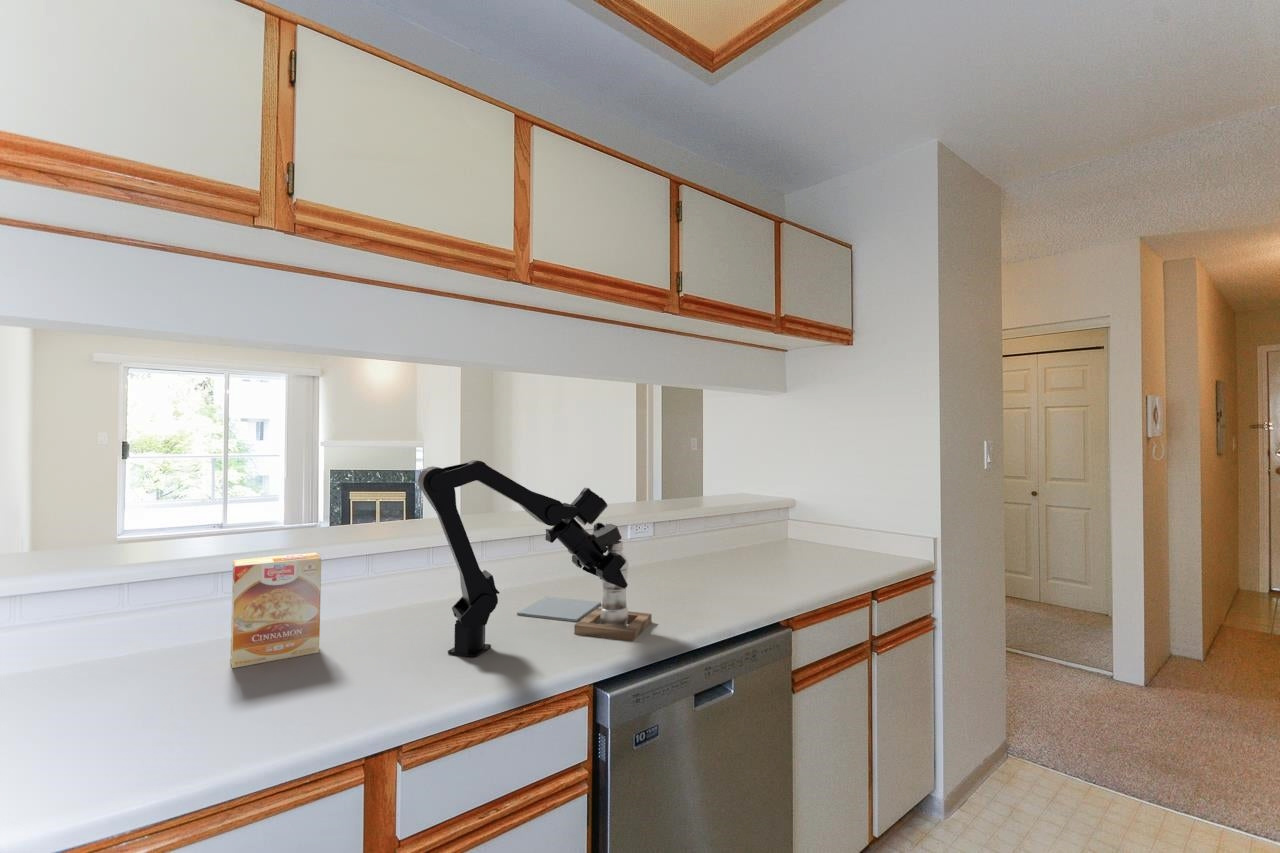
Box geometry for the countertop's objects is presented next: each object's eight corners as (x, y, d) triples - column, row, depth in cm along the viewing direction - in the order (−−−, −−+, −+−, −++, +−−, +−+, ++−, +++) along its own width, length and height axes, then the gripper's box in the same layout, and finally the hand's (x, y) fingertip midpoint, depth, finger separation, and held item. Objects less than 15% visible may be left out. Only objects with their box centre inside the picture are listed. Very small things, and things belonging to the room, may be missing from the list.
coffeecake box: (231, 669, 114) (233, 565, 114) (229, 657, 120) (231, 559, 120) (320, 653, 123) (322, 556, 123) (315, 643, 128) (316, 551, 129)
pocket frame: (633, 640, 132) (633, 631, 132) (574, 633, 136) (574, 624, 136) (651, 622, 145) (651, 613, 145) (597, 616, 150) (597, 608, 150)
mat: (576, 621, 145) (576, 619, 145) (516, 615, 150) (516, 612, 150) (600, 604, 160) (600, 601, 160) (546, 598, 165) (546, 596, 165)
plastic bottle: (634, 627, 141) (635, 541, 141) (614, 634, 136) (614, 545, 136) (614, 621, 145) (615, 538, 146) (594, 628, 140) (595, 541, 141)
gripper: (618, 518, 131) (661, 565, 136) (584, 508, 147) (624, 550, 153) (584, 558, 127) (630, 604, 132) (553, 543, 144) (595, 585, 149)
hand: (620, 583), depth 142 cm, fingers closed on plastic bottle, 6 cm apart
